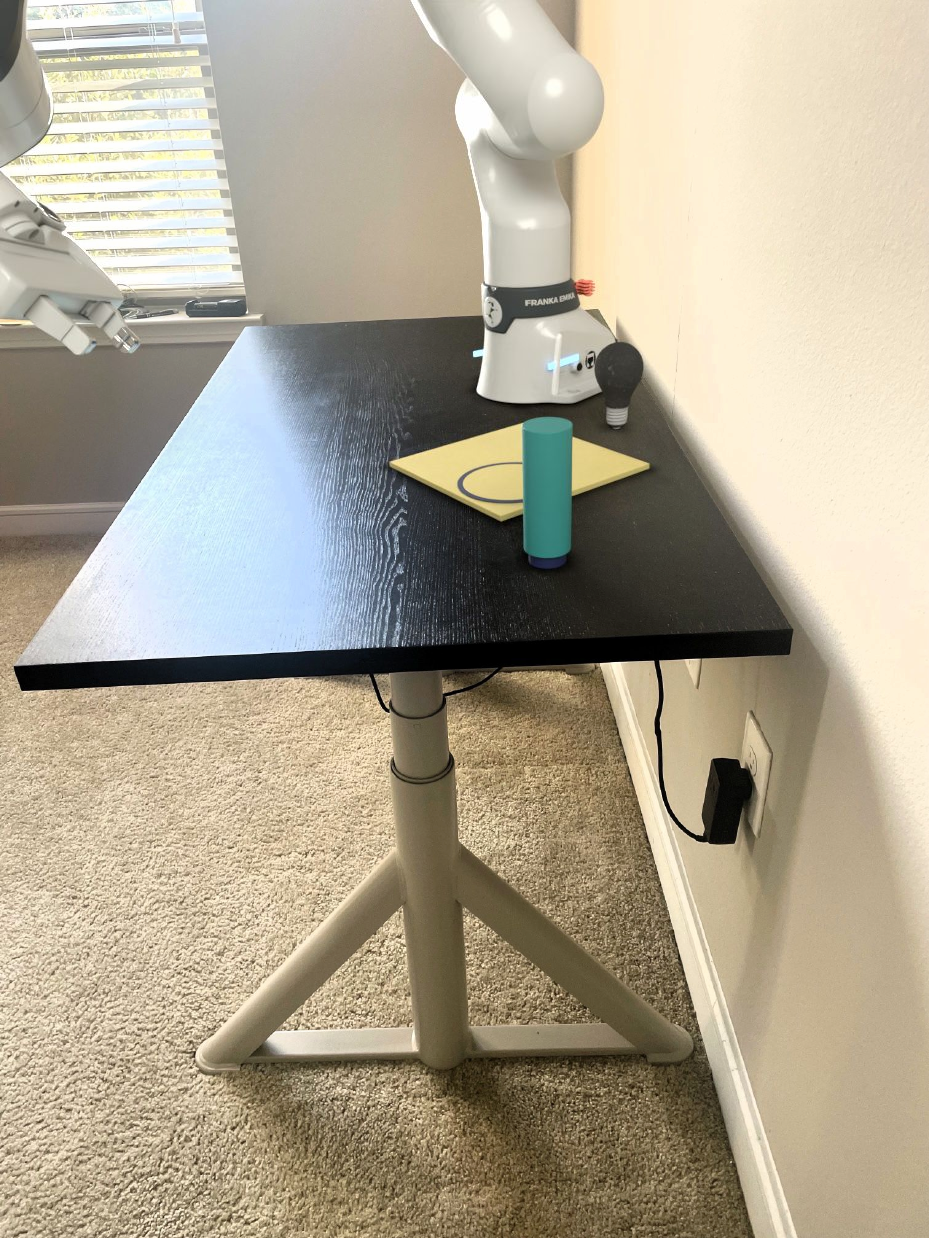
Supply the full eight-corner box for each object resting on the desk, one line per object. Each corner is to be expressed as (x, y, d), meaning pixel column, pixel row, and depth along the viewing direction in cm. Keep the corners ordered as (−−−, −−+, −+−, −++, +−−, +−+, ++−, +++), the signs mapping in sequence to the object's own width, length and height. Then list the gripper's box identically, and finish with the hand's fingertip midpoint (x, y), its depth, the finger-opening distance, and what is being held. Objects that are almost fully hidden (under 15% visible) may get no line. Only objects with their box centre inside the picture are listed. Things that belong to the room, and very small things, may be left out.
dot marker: (549, 546, 76) (549, 413, 70) (580, 561, 74) (583, 424, 67) (514, 559, 74) (511, 424, 68) (544, 575, 72) (544, 436, 65)
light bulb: (590, 421, 106) (592, 337, 100) (636, 419, 105) (641, 335, 100) (595, 436, 101) (597, 349, 96) (643, 434, 100) (648, 347, 95)
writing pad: (528, 425, 105) (528, 420, 105) (649, 468, 91) (649, 462, 91) (389, 466, 96) (389, 460, 95) (500, 521, 81) (500, 514, 81)
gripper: (-71, 174, 62) (81, 319, 65) (63, 214, 81) (175, 324, 84) (-120, 241, 63) (30, 380, 66) (23, 264, 83) (135, 371, 86)
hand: (112, 349), depth 75 cm, fingers open, 8 cm apart
